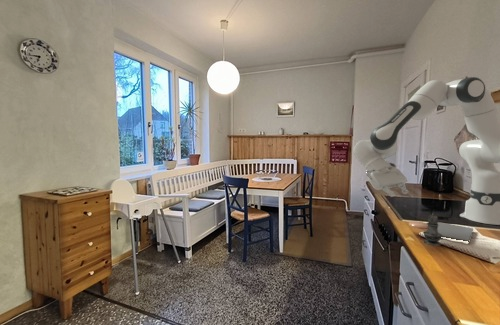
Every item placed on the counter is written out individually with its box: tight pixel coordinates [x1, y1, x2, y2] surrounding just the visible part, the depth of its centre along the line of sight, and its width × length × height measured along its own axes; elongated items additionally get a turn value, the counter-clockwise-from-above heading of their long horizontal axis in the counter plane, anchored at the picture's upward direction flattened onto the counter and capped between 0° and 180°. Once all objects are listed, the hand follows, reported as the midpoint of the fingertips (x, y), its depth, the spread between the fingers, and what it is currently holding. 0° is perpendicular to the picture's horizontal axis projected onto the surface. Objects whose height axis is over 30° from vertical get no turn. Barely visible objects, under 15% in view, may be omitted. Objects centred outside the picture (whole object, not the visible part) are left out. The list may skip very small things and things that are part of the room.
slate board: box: [438, 221, 474, 243], centre depth 101 cm, size 18×12×2 cm, turn 134°
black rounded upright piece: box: [422, 212, 442, 247], centre depth 93 cm, size 6×6×12 cm
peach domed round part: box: [408, 220, 428, 230], centre depth 112 cm, size 8×8×1 cm
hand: (400, 194), depth 103 cm, fingers open, 8 cm apart
